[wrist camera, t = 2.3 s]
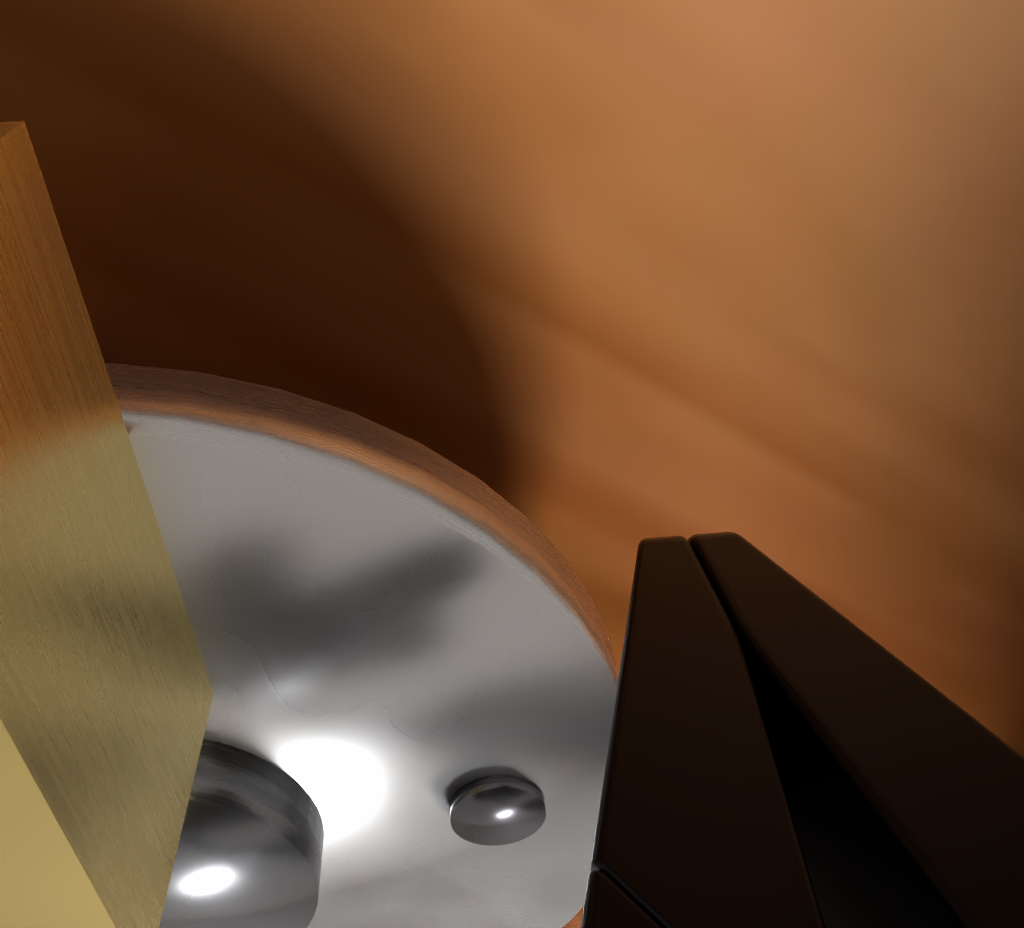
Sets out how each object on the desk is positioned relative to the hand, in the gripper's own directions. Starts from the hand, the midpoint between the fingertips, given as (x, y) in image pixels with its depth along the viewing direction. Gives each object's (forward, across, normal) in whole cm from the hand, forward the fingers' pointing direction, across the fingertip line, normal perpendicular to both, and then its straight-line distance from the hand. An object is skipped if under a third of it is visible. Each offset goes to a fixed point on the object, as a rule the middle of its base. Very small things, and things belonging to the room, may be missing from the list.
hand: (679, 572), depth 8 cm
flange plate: (+2, +6, +3) cm, 7 cm away
